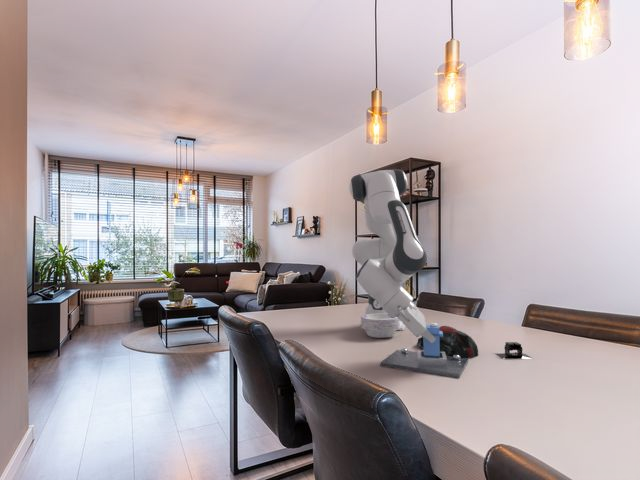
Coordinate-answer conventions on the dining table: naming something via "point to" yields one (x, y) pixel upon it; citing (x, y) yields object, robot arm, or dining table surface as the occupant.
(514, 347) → the black block with base
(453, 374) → the plate
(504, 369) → the dining table surface
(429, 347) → the block
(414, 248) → the robot arm
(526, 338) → the dining table surface
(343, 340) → the dining table surface
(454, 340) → the drone shell
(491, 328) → the dining table surface
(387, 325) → the paper bowls
